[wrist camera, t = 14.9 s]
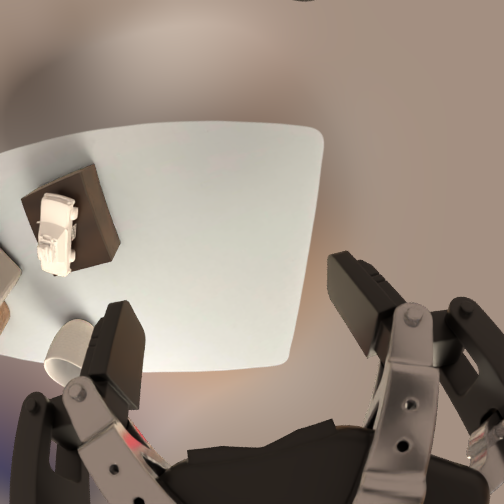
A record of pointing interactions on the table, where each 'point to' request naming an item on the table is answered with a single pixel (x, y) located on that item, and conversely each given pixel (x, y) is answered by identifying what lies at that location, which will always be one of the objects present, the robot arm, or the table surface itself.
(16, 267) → the radio
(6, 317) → the planter
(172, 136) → the table surface
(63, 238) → the toy car
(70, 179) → the stand
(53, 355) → the mug
